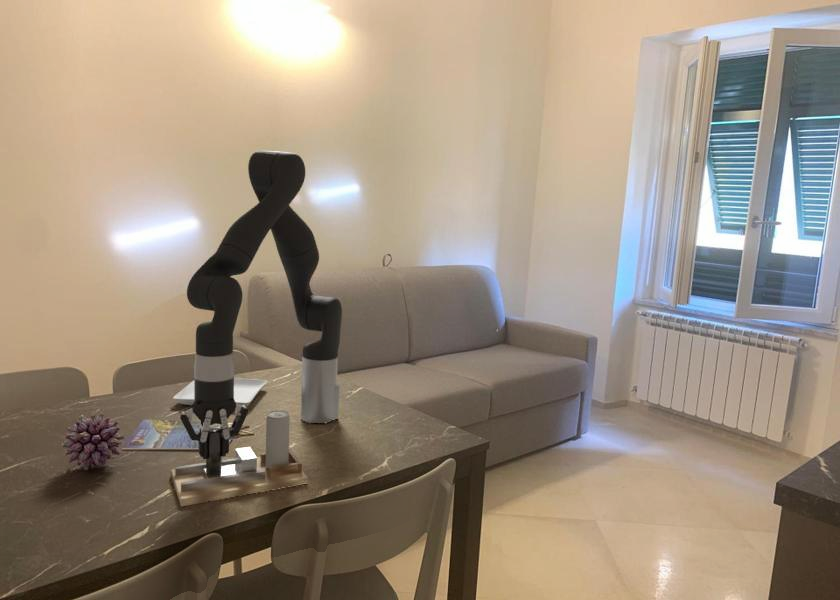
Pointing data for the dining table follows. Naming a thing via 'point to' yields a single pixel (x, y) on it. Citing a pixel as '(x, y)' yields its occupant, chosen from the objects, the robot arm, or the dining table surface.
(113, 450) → the flower
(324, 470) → the dining table surface
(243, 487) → the wooden tray
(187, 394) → the salad plate
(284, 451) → the beverage can
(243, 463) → the press block
